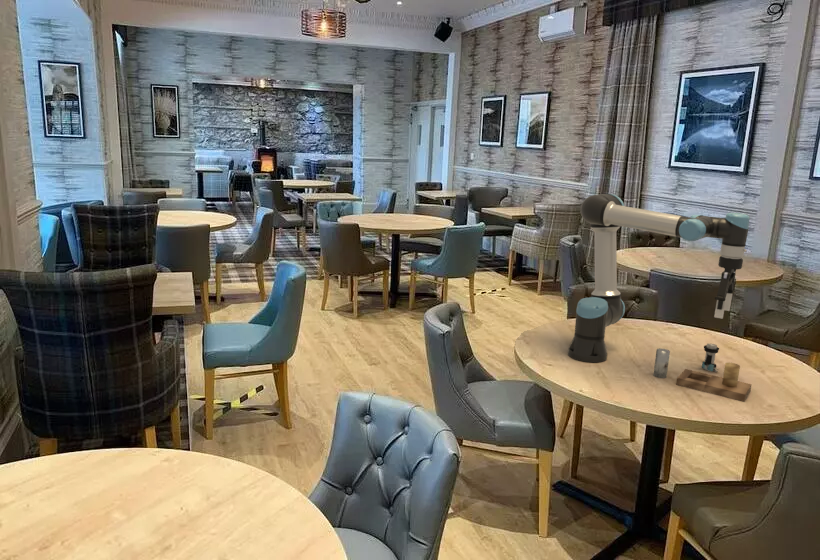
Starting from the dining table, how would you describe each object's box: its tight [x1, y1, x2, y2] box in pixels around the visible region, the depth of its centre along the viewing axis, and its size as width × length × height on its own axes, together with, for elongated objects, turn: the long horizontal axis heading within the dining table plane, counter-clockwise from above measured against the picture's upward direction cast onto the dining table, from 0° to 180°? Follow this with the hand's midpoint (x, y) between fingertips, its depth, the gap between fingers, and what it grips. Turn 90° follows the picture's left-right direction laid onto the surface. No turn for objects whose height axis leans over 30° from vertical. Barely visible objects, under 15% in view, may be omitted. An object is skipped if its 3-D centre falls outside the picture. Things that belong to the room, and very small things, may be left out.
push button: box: [701, 343, 720, 373], centre depth 231 cm, size 7×5×10 cm
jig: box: [675, 362, 752, 402], centre depth 213 cm, size 22×12×10 cm, turn 52°
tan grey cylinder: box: [652, 347, 671, 379], centre depth 223 cm, size 5×5×10 cm
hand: (722, 314), depth 219 cm, fingers open, 13 cm apart
